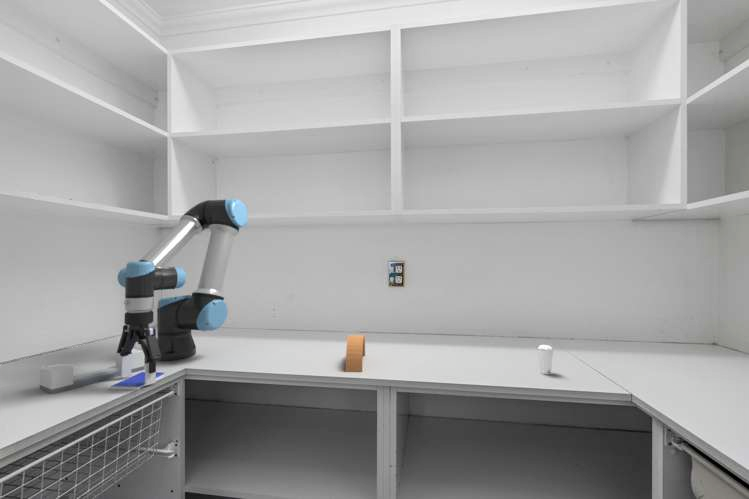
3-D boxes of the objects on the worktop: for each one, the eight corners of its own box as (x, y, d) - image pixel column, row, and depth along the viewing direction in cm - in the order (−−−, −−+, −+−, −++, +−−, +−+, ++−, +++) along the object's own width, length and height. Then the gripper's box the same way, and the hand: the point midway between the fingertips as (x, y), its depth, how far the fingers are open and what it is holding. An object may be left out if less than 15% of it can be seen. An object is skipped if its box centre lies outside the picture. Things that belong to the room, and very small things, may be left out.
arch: (345, 372, 120) (344, 342, 120) (350, 355, 140) (350, 329, 140) (362, 372, 120) (362, 342, 120) (365, 355, 140) (365, 329, 140)
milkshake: (549, 377, 114) (549, 345, 114) (535, 372, 119) (534, 342, 119) (558, 374, 116) (558, 343, 117) (544, 370, 121) (543, 340, 121)
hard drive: (137, 386, 105) (164, 372, 117) (110, 385, 105) (140, 371, 118) (137, 391, 105) (164, 377, 117) (110, 390, 105) (140, 376, 118)
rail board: (131, 365, 127) (131, 348, 127) (144, 369, 123) (144, 351, 123) (39, 388, 105) (40, 367, 105) (51, 393, 101) (52, 371, 102)
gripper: (105, 309, 114) (103, 376, 114) (149, 315, 102) (147, 390, 102) (130, 307, 121) (129, 370, 120) (175, 312, 109) (173, 383, 108)
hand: (137, 380), depth 111 cm, fingers open, 13 cm apart
